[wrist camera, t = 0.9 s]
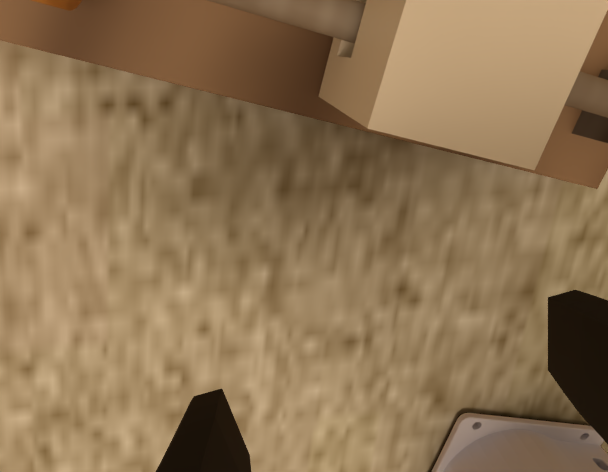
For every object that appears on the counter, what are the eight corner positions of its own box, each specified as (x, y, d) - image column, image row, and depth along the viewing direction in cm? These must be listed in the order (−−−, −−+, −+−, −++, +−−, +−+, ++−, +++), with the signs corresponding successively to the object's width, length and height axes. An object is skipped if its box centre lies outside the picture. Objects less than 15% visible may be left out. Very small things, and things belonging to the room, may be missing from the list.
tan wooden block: (475, -14, 14) (637, -55, 8) (427, 124, 15) (534, 170, 10) (357, -55, 13) (446, -132, 7) (318, 96, 15) (367, 128, 9)
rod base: (653, 35, 17) (829, 31, 12) (580, 182, 19) (702, 231, 14) (-28, -205, 12) (-226, -390, 7) (-24, 30, 14) (-174, 22, 9)
